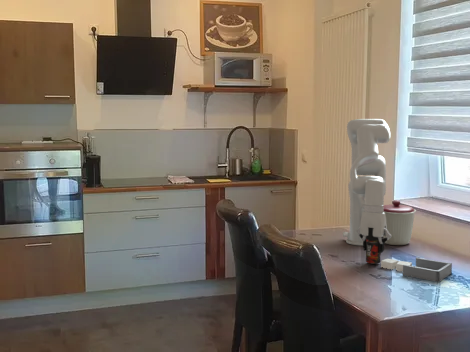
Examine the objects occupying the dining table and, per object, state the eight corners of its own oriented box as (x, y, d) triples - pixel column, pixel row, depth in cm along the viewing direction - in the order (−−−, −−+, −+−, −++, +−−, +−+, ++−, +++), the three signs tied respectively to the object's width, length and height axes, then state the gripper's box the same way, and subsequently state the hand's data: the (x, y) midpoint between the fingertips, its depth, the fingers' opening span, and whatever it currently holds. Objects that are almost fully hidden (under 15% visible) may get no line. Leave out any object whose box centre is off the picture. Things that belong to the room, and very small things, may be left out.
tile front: (395, 271, 217) (396, 263, 217) (399, 268, 221) (399, 260, 221) (408, 273, 215) (408, 265, 214) (411, 269, 219) (411, 262, 218)
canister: (418, 248, 251) (419, 203, 249) (378, 247, 254) (379, 203, 252) (411, 239, 269) (413, 197, 267) (374, 238, 272) (375, 196, 269)
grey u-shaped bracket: (402, 275, 211) (403, 265, 210) (416, 266, 222) (416, 257, 221) (438, 282, 202) (439, 271, 202) (451, 273, 213) (451, 263, 212)
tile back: (381, 267, 222) (381, 260, 222) (387, 265, 225) (387, 258, 225) (391, 270, 218) (391, 263, 218) (398, 267, 222) (398, 260, 221)
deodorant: (382, 260, 227) (382, 225, 226) (377, 264, 222) (378, 228, 221) (368, 258, 230) (368, 224, 229) (363, 262, 225) (364, 227, 224)
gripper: (351, 207, 226) (350, 249, 229) (389, 212, 215) (388, 256, 218) (359, 205, 232) (358, 246, 234) (397, 209, 221) (396, 252, 223)
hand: (373, 250), depth 226 cm, fingers closed on deodorant, 5 cm apart
